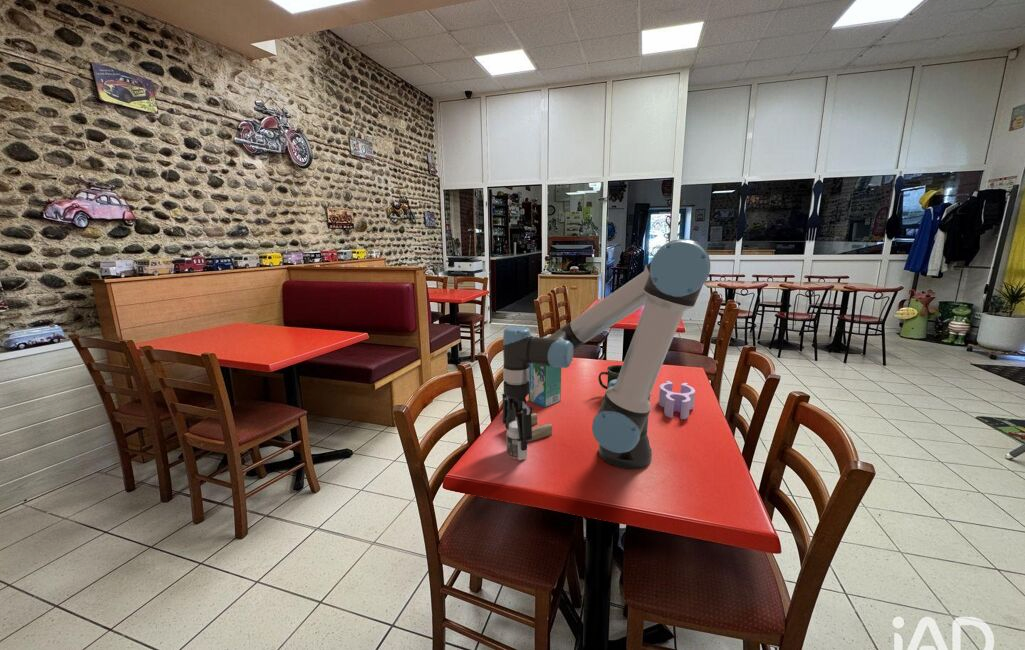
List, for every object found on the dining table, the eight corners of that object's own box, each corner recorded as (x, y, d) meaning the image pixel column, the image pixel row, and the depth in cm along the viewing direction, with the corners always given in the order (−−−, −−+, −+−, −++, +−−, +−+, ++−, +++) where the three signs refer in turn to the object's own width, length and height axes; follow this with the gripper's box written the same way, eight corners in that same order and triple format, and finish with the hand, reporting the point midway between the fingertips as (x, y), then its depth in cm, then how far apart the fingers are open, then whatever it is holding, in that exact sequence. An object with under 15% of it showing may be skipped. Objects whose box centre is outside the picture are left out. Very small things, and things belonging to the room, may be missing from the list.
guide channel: (552, 434, 132) (552, 420, 131) (521, 443, 127) (521, 429, 126) (535, 422, 141) (535, 408, 140) (506, 429, 136) (505, 416, 135)
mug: (632, 405, 155) (634, 375, 152) (594, 399, 161) (595, 370, 158) (636, 395, 164) (638, 367, 162) (600, 389, 170) (602, 362, 168)
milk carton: (528, 400, 160) (528, 339, 154) (544, 394, 165) (545, 335, 160) (544, 407, 153) (545, 344, 147) (560, 401, 159) (562, 339, 153)
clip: (695, 421, 142) (697, 403, 140) (658, 416, 146) (659, 398, 144) (692, 400, 160) (693, 383, 158) (658, 395, 164) (660, 379, 162)
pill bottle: (506, 449, 123) (506, 420, 121) (525, 449, 124) (525, 419, 122) (507, 460, 118) (507, 429, 116) (527, 459, 118) (527, 428, 116)
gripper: (545, 389, 109) (544, 465, 114) (512, 368, 125) (512, 436, 131) (521, 394, 106) (521, 473, 111) (490, 372, 122) (491, 442, 127)
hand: (516, 453), depth 121 cm, fingers open, 6 cm apart
